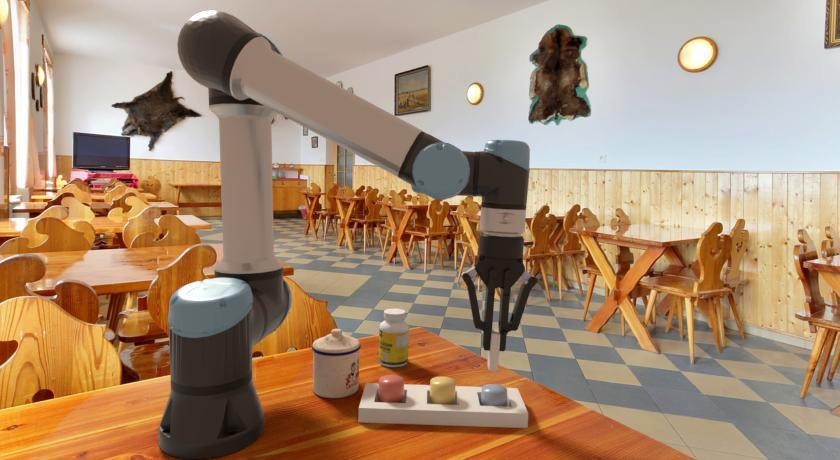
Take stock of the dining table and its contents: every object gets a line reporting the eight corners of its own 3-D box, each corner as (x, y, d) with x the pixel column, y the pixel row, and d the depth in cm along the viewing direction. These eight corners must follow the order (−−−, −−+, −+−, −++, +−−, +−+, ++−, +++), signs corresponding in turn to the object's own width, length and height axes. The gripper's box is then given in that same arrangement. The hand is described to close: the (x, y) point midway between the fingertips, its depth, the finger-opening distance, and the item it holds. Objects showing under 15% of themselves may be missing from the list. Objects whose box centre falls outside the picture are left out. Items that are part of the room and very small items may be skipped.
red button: (377, 404, 85) (377, 384, 85) (379, 393, 90) (380, 374, 89) (402, 405, 85) (403, 385, 85) (404, 394, 90) (404, 375, 89)
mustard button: (429, 406, 85) (430, 386, 85) (429, 395, 89) (430, 376, 89) (455, 407, 85) (456, 387, 85) (454, 396, 89) (454, 376, 89)
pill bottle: (375, 358, 112) (376, 308, 110) (403, 356, 113) (404, 306, 112) (382, 369, 105) (383, 316, 104) (411, 367, 107) (413, 314, 106)
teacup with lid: (355, 400, 91) (356, 338, 89) (306, 398, 91) (306, 336, 90) (365, 374, 102) (366, 319, 101) (321, 373, 103) (321, 317, 101)
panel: (358, 422, 83) (358, 407, 82) (365, 395, 93) (365, 382, 92) (527, 428, 82) (528, 413, 82) (516, 401, 92) (517, 388, 92)
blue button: (482, 414, 85) (483, 394, 85) (479, 402, 89) (480, 383, 89) (508, 415, 85) (509, 395, 85) (504, 403, 89) (505, 384, 89)
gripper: (464, 234, 80) (456, 374, 83) (545, 238, 80) (534, 379, 83) (461, 229, 88) (453, 358, 90) (535, 232, 88) (525, 362, 90)
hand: (492, 368), depth 87 cm, fingers closed
